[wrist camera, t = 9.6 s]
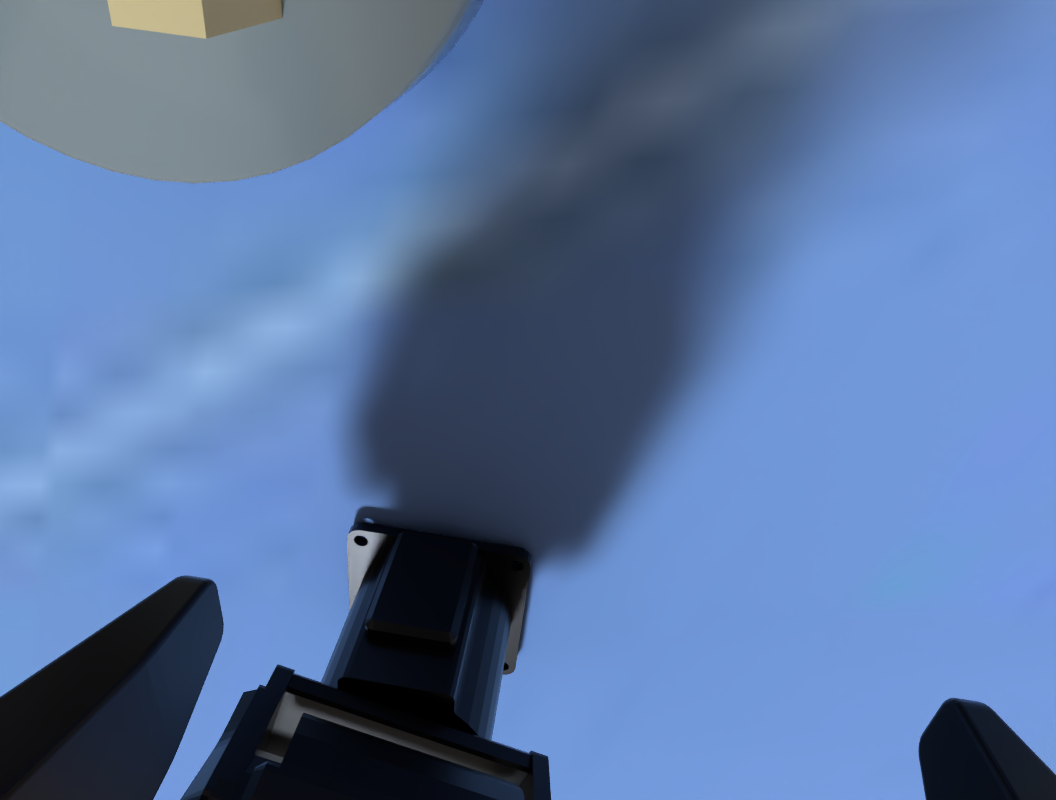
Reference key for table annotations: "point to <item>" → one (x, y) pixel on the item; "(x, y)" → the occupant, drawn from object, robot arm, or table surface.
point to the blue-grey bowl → (212, 77)
